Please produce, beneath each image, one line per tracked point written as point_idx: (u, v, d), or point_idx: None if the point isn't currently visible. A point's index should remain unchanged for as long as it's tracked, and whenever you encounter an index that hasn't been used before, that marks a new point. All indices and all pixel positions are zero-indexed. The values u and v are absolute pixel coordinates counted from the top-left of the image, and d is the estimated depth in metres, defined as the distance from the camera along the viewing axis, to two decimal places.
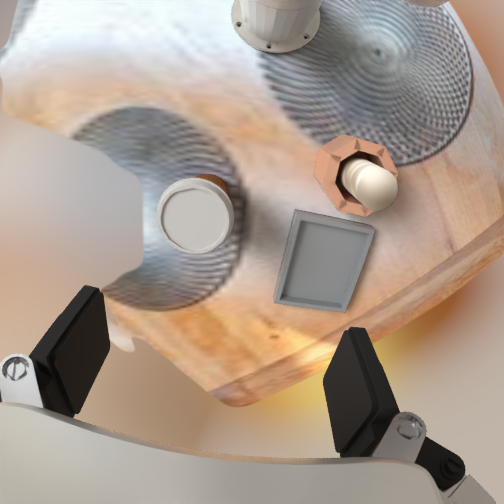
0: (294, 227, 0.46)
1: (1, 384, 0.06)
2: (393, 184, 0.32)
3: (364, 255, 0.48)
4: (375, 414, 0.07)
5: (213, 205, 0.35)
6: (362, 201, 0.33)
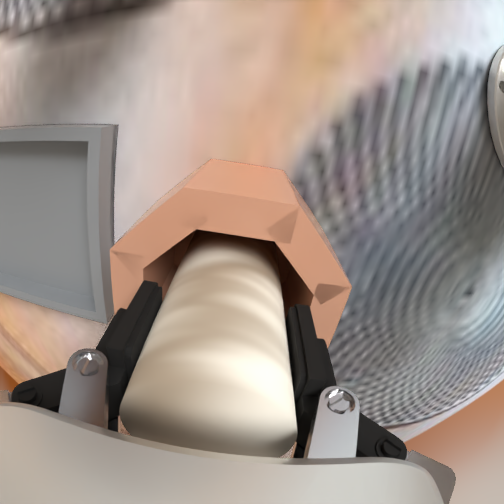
0: (69, 129, 0.14)
1: (67, 374, 0.07)
2: None
3: (54, 305, 0.19)
4: (305, 385, 0.08)
5: None
6: (139, 392, 0.07)
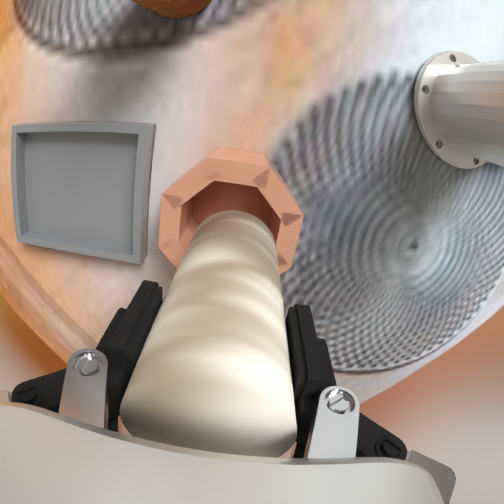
0: (125, 125, 0.23)
1: (68, 374, 0.07)
2: None
3: (98, 253, 0.28)
4: (305, 385, 0.08)
5: None
6: (139, 392, 0.07)
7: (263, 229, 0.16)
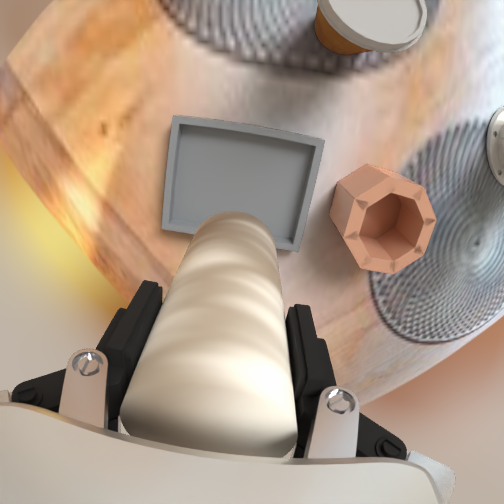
0: (304, 137, 0.30)
1: (67, 374, 0.07)
2: None
3: None
4: (305, 385, 0.08)
5: (399, 28, 0.17)
6: (139, 394, 0.07)
7: (263, 230, 0.16)
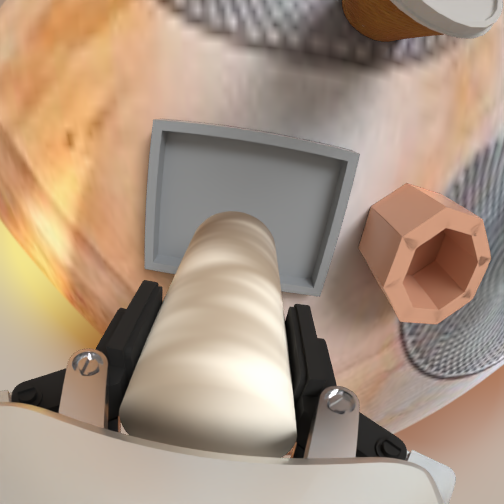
0: (333, 149, 0.22)
1: (68, 374, 0.07)
2: None
3: None
4: (305, 385, 0.08)
5: (474, 7, 0.09)
6: (139, 395, 0.07)
7: (263, 230, 0.16)
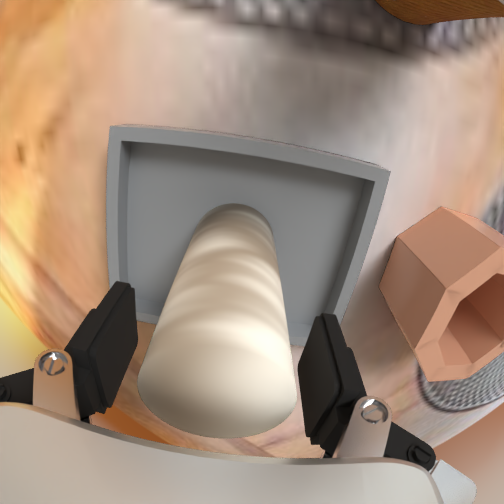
0: (356, 165, 0.16)
1: (36, 376, 0.06)
2: (243, 430, 0.09)
3: None
4: (339, 397, 0.08)
5: None
6: (157, 359, 0.08)
7: (262, 220, 0.18)
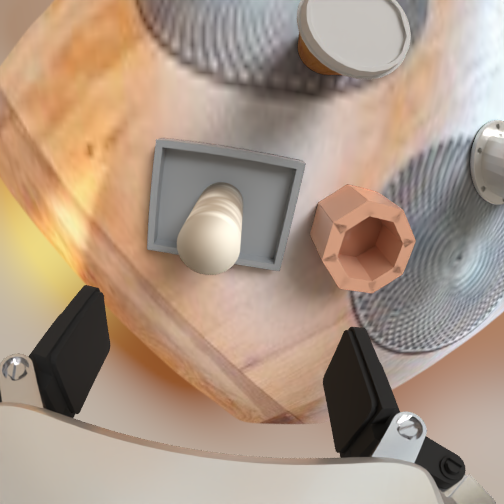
0: (285, 160, 0.31)
1: (1, 384, 0.06)
2: (219, 267, 0.25)
3: (242, 262, 0.36)
4: (375, 414, 0.07)
5: (381, 54, 0.18)
6: (187, 224, 0.23)
7: (236, 190, 0.33)
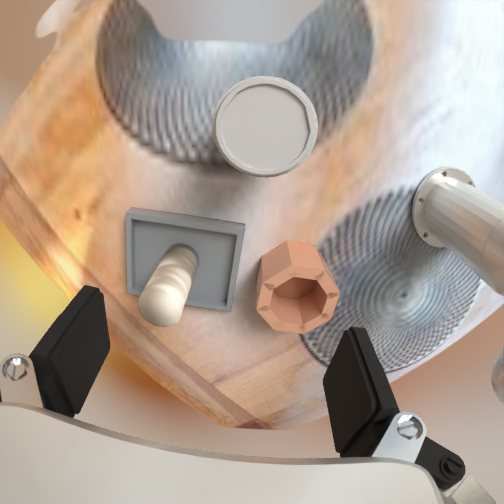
0: (227, 228, 0.39)
1: (1, 384, 0.06)
2: (168, 322, 0.33)
3: (200, 305, 0.44)
4: (375, 414, 0.07)
5: (284, 154, 0.26)
6: (143, 294, 0.31)
7: (190, 251, 0.41)
